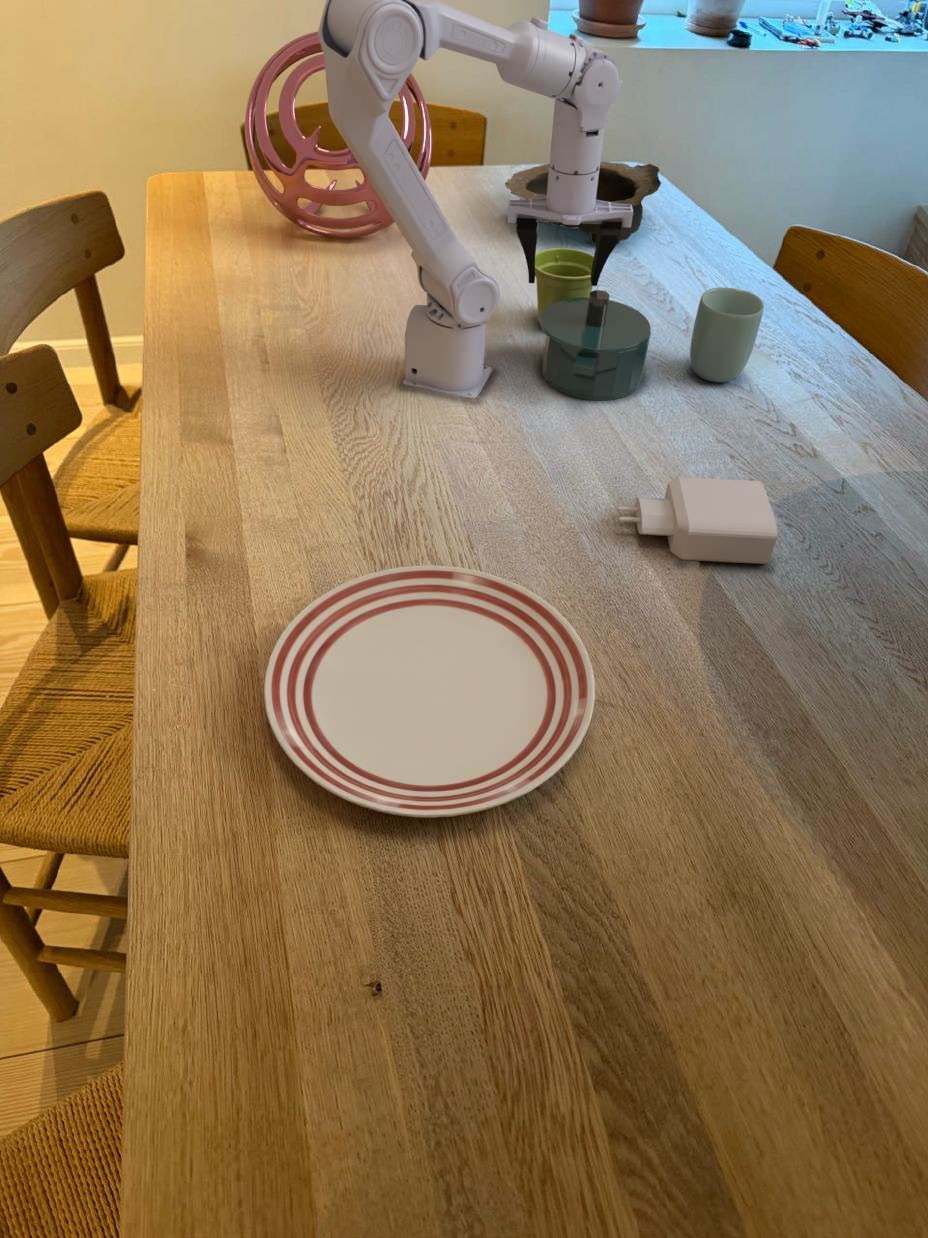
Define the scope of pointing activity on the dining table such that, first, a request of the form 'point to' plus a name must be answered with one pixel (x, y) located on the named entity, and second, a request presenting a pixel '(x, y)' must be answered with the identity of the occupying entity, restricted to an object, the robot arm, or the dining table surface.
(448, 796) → the dinner plate
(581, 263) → the plant pot
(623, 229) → the stone bowl
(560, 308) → the lid
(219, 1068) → the dining table surface
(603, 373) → the pot
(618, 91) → the robot arm
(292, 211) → the pink openwork sphere
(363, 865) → the dining table surface
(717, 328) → the cup
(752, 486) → the charger
